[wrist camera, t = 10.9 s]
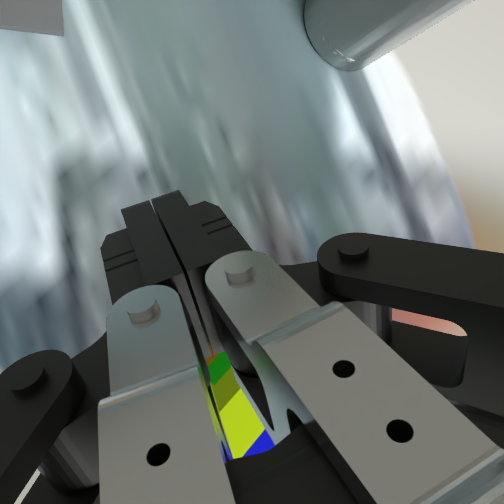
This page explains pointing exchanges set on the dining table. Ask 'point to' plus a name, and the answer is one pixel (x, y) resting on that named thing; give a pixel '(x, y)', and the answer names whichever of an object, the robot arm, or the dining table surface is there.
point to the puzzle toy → (236, 410)
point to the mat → (32, 16)
